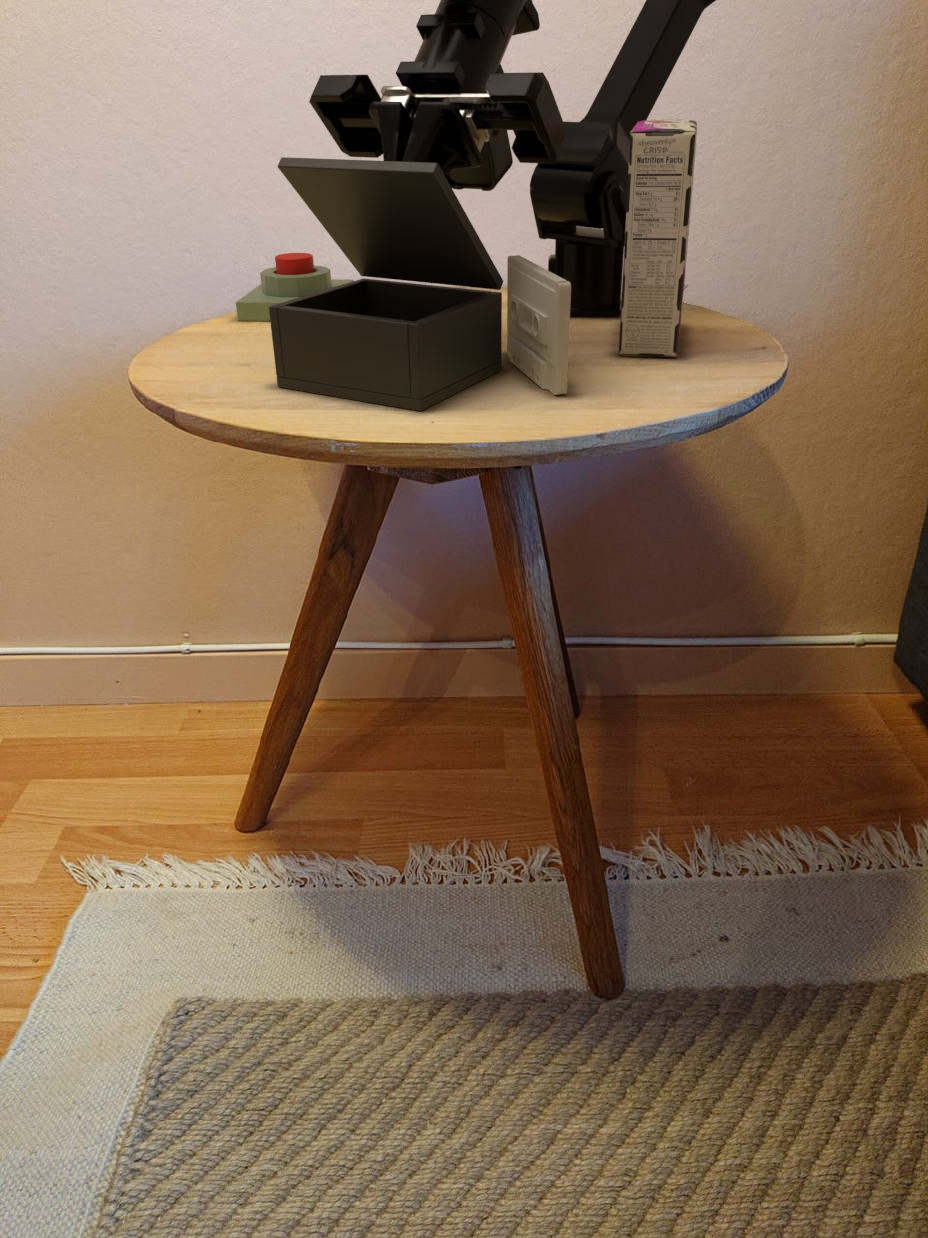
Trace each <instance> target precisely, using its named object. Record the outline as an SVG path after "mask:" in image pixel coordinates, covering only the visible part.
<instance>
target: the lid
mask: <svg viewBox="0 0 928 1238" xmlns="http://www.w3.org/2000/svg"><path fill="white" fill-rule="evenodd" d="M277 169H278V170H279V171H280V172H281V174H282V175H283V176H284V177H285V179H286V180H287V181H288V183H289V185H291V186H292V188H293V189H294V190H295V192H296V193H297V194H298V196H299V197H300V198H301V200H302V201H303V202H304V203H305V205H306V206H307V207H308V209H309V210H310V211H311V213H312V214H313V215H314V217H315V218H316V219H317V221H318V222H319V223H320V224H321V225H322V227H323V228H324V230H325V231H326V232H327V234H328V235H329V236H330V237H331V239H332V240H333V242H335V244H336V245H337V247H338V248H339V249H340V250H341V252H342V253H343V255H345V257H346V259H347V260H348V261H349V262H350V263H351V265H352V266H353V268H355V270H356V271H357V272H358V274H359V275H360V276H361V277H367V278H375V279H384V280H385V279H386V280H387V279H388V280H394V281H397V280H398V281H406V282H418V283H424V284H426V283H427V284H435V285H436V284H437V285H438V284H439V285H446V286H456V287H457V286H458V287H466V288H475V289H476V288H477V289H484V290H485V289H486V290H495V291H500V290H501V289H502V287H503V284H504V280H503V277H502V276H501V273H500V272H499V270H498V269H497V267H496V265H495V263H494V262H493V259H492V258H491V256H490V254H489V252H488V251H487V249H486V247H485V245H484V243H483V242H482V240H481V238H480V236H479V234H478V232H477V231H476V229H475V227H474V225H473V224H472V222H471V220H470V218H469V217H468V215H467V213H466V211H465V209H464V207H463V205H462V204H461V202H460V200H459V199H458V197H457V195H456V194H455V193H456V192H455V191H454V189H453V188H451V186H450V184H449V182H448V181H447V179H446V177H445V175H444V173H443V172H442V170H441V168H440V166H439V164H438V163H428V162H400V161H384V160H370V159H369V160H368V159H339V158H338V159H337V158H310V157H309V158H308V157H283V156H282V157H281V158H280V159H279V162H278V164H277Z"/></svg>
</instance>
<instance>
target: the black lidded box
mask: <svg viewBox="0 0 928 1238" xmlns="http://www.w3.org/2000/svg"><path fill="white" fill-rule="evenodd" d="M269 314H270V321H269V323H270V331H271V339H272V348H273V355H274V356H273V358H274V365H275V366H274V367H275V374H276V383H277V385H276V386H277V387H278V388H283V389H288V390H294V391H300V392H306V393H311V394H316V395H317V394H318V395H323V396H324V395H325V396H330V397H336V398H340V399H347V400H353V401H360V402H365V403H370V404H377V405H383V406H387V407H388V406H389V407H395V408H400V409H406V410H413V411H419V412H423V411H424V410H427V409H428V408H430V407H433V406H434V405H436V404H438V403H440V402H442V401H444V400H446V399H447V398H450V397H452V396H453V395H455V394H457V393H459V392H461V391H463V390H465V389H467V388H469V387H471V386H474V385H475V384H477V383H479V382H481V381H483V380H485V379H487V378H489V377H490V376H493V375H495V374H496V373H498V372H500V371H502V351H503V350H502V348H503V347H502V344H503V343H502V341H503V339H502V338H503V337H502V335H503V331H502V330H503V329H502V328H503V326H502V325H503V315H502V314H503V293H502V292H501V291H492V290H483V289H472V288H464V287H463V288H462V287H454V286H453V287H452V286H444V285H443V286H441V285H433V284H425V283H414V282H403V281H396V280H393V281H392V280H385V279H376V278H375V279H373V278H363V277H362V278H360V279H357V280H354V281H353V282H350V283H346V284H343V285H340V286H336V287H333V288H329V289H326V290H323V291H319V292H316V293H313V294H309V295H306V296H303V297H299V298H296V299H293V300H289V301H286V302H282V303H279V304H276V305H272V306H269Z"/></svg>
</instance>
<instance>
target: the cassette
mask: <svg viewBox="0 0 928 1238" xmlns="http://www.w3.org/2000/svg"><path fill="white" fill-rule="evenodd" d="M506 260H507V262H506V263H507V265H506V266H507V267H506V268H507V271H506V272H507V273H506V274H507V275H506V276H507V279H506V280H507V283H506V284H507V285H506V287H507V288H506V293H507V294H506V297H507V298H506V299H507V301H506V302H507V303H506V304H507V305H506V308H507V309H506V354H507V357H508V358H509V360H508V361H509V362H510V363H511V364H512V365H514V366H515V367H516V368H517V369H519V370H520V371H521V373H523V374H524V375H526V377H528V378H529V379H530V380H531V381H532V382H534V383H535V384H536V385H537V386H538V387H540V388H541V389H542V390H547V391H549V392H550V393H551V394H553V395H554V396H558V395H559V396H560V395H566V394H567V393H568V383H569V382H568V380H569V355H570V327H571V325H570V324H571V315H570V303H571V283H570V282H569V281H567V280H565V279H563V278H561V277H559V276H557V275H555V274H554V273H552V272H550V271H548V269H546V268H544V267H542V266H541V265H538V264H536V263H535V262H533V261H532V260H531V261H530V260H529V259H526V258H525V257H523V256H522V255H520V254H518V255H508V256H507V259H506Z"/></svg>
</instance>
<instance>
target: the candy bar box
mask: <svg viewBox="0 0 928 1238" xmlns="http://www.w3.org/2000/svg"><path fill="white" fill-rule="evenodd" d="M697 131H698V123H697V120H696V119H685V118H683V119H682V118H679V119H678V118H677V119H676V118H675V119H673V118H672V119H671V118H669V119H668V118H667V119H647V120H644V121H638V122H637V124H636V125H635V127H634V128H633V129H632V131H631V132H630V152H629V171H628V184H627V205H626V226H625V245H624V256H623V272H622V288H621V315H620V318H619V321H620V322H619V336H618V337H619V339H618V355H620V356H625V357H633V358H634V357H635V358H636V357H637V358H638V357H639V358H640V357H644V358H676V357H677V356H678V351H679V342H680V334H681V325H682V313H683V301H684V291H685V282H686V281H685V279H686V270H687V269H686V268H687V258H688V245H689V232H690V224H691V223H690V222H691V210H692V200H693V199H692V198H693V188H694V174H695V162H696V148H697V135H698V133H697Z"/></svg>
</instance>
